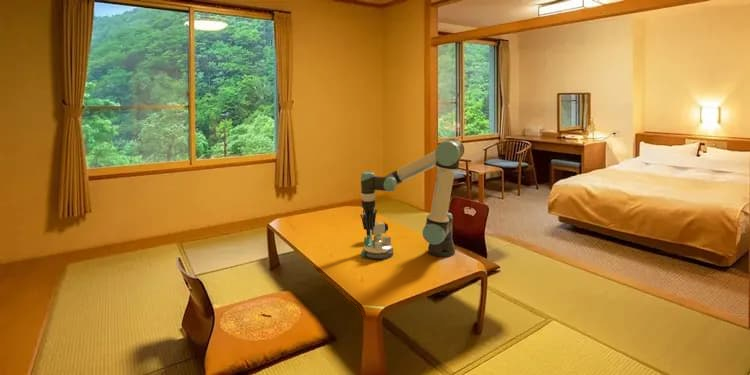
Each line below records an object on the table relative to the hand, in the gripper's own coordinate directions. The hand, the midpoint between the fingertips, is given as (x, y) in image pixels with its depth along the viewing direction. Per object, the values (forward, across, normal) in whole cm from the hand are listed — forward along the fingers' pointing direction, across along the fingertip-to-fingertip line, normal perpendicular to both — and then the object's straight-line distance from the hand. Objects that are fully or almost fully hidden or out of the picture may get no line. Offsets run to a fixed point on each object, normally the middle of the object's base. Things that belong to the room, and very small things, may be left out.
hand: (369, 240), depth 238 cm
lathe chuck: (+4, +1, +6) cm, 7 cm away
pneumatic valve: (+8, -19, -8) cm, 22 cm away
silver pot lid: (+7, +1, +6) cm, 9 cm away
